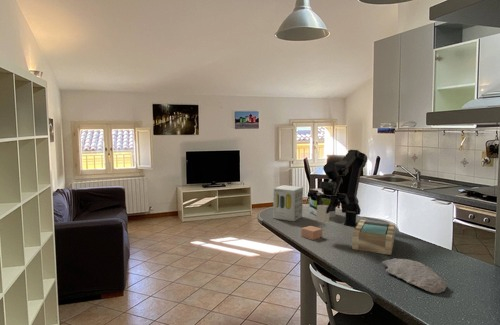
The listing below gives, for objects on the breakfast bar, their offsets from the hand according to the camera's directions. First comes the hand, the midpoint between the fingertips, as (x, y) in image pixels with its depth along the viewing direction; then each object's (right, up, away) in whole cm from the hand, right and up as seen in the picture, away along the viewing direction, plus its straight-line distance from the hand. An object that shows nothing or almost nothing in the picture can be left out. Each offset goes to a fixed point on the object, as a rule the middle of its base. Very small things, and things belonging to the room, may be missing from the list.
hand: (322, 212), depth 163 cm
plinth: (-4, -13, +6) cm, 15 cm away
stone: (+25, -18, -38) cm, 49 cm away
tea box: (+10, -9, +49) cm, 51 cm away
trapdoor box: (+23, -14, -3) cm, 27 cm away
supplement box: (-11, -9, +42) cm, 44 cm away
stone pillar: (0, -4, +1) cm, 4 cm away
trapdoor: (+23, -8, -3) cm, 25 cm away
